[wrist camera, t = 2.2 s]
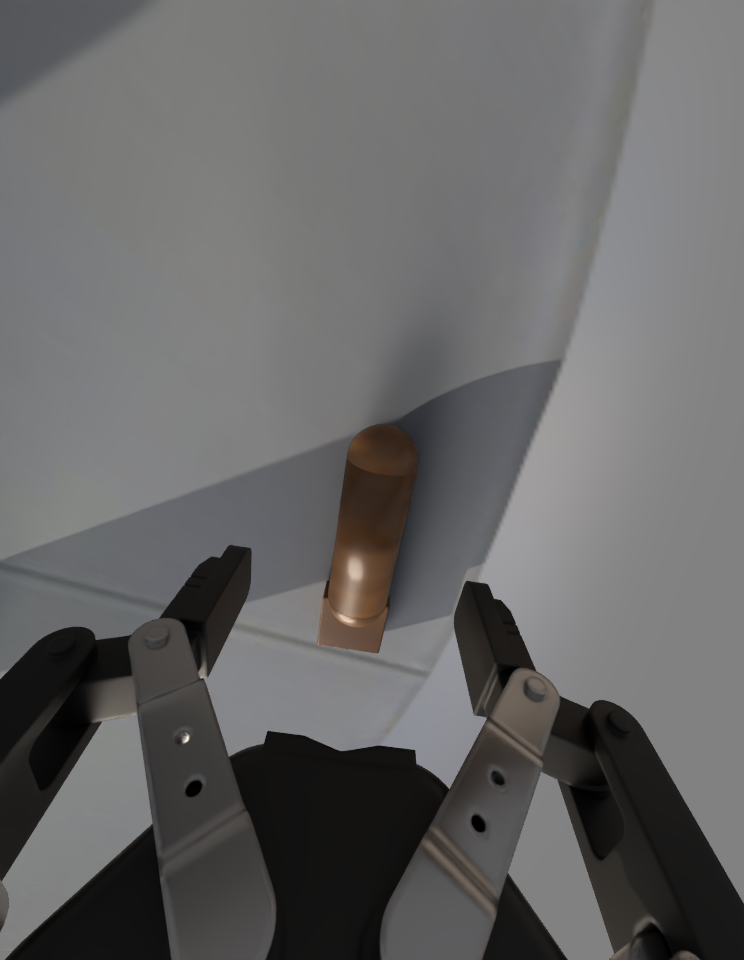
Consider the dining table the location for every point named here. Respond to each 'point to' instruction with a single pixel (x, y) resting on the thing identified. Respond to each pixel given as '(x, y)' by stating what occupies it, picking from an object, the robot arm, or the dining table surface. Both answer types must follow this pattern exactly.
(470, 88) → the dining table surface
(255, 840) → the robot arm
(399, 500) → the brown rounded bar
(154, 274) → the dining table surface
